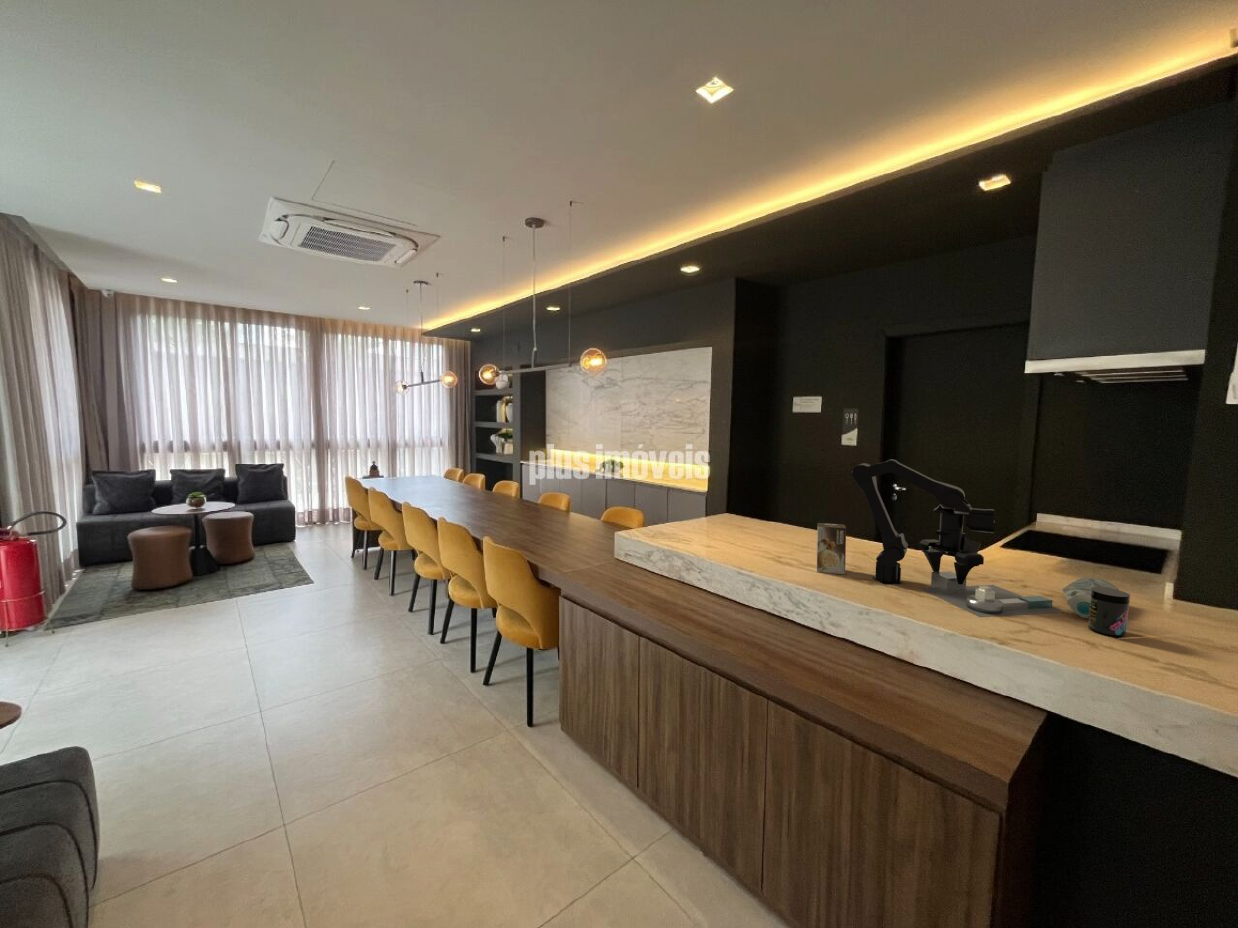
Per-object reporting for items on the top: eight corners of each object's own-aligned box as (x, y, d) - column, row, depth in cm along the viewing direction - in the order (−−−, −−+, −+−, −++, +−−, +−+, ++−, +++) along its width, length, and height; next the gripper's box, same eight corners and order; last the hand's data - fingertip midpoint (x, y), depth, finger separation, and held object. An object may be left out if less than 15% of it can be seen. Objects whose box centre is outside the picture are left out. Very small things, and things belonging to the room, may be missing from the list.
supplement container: (1104, 638, 117) (1108, 596, 116) (1079, 626, 123) (1083, 586, 122) (1134, 639, 116) (1138, 597, 115) (1108, 627, 123) (1112, 587, 122)
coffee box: (844, 569, 171) (846, 524, 169) (845, 575, 165) (847, 528, 163) (816, 566, 174) (817, 522, 173) (815, 571, 168) (817, 526, 167)
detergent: (1067, 593, 147) (1045, 612, 132) (1071, 570, 146) (1050, 586, 130) (1129, 610, 137) (1113, 632, 121) (1134, 585, 136) (1120, 605, 120)
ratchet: (983, 615, 130) (984, 592, 130) (959, 603, 138) (960, 582, 138) (1060, 610, 133) (1062, 588, 132) (1032, 599, 141) (1033, 579, 140)
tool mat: (979, 618, 129) (979, 616, 129) (919, 589, 151) (919, 588, 151) (1064, 613, 132) (1064, 612, 132) (993, 585, 154) (993, 584, 154)
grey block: (946, 594, 145) (947, 578, 145) (930, 587, 151) (931, 571, 151) (965, 593, 146) (966, 577, 145) (949, 586, 152) (950, 571, 152)
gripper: (1003, 535, 138) (999, 588, 140) (951, 521, 157) (948, 568, 158) (967, 536, 137) (963, 590, 139) (919, 522, 156) (916, 570, 157)
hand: (948, 579), depth 148 cm, fingers open, 9 cm apart
